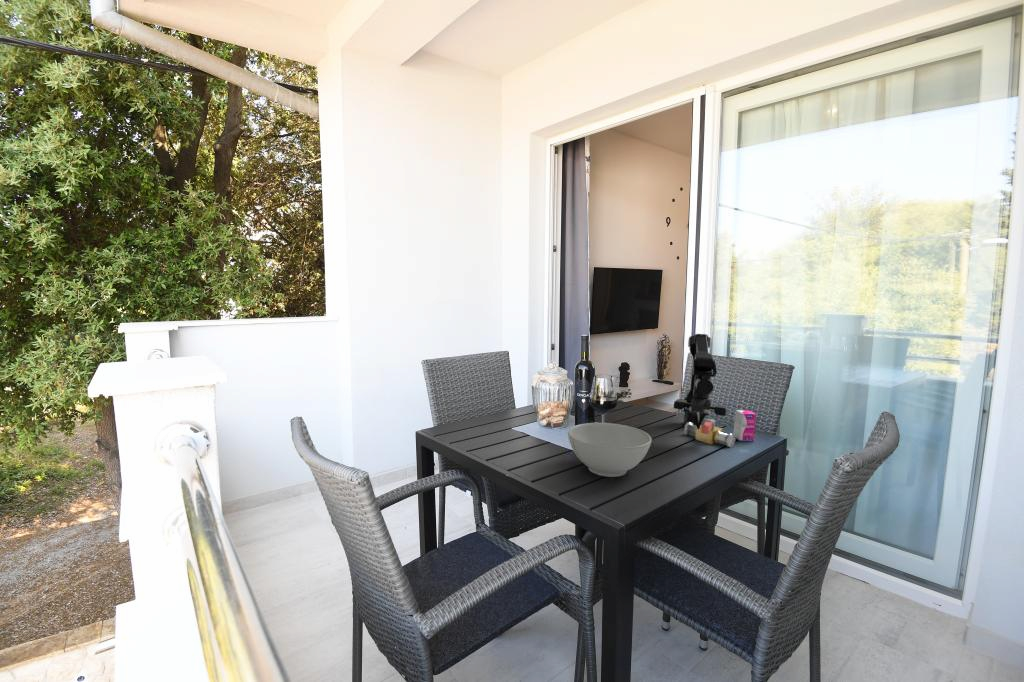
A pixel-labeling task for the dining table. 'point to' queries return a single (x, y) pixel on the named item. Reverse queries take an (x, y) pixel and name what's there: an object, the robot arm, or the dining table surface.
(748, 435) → the supplement box
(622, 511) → the dining table surface
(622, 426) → the decorative bowl
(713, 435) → the valve body
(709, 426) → the lever
